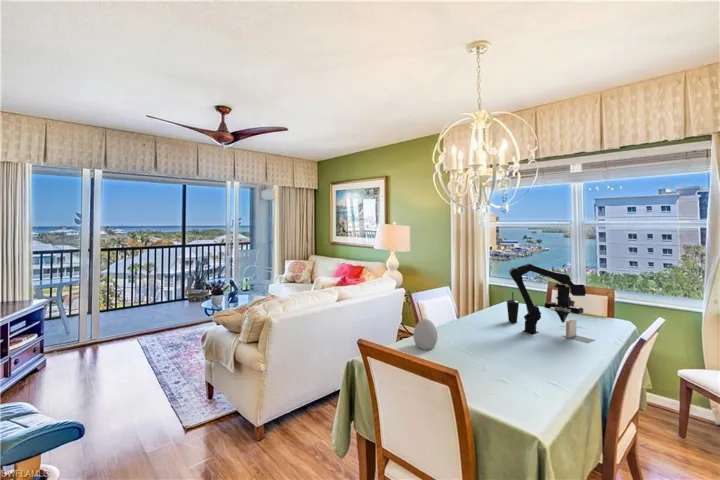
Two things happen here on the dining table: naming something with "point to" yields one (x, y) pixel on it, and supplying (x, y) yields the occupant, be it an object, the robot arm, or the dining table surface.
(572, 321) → the tile
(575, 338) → the mat
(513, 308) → the drinking cup
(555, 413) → the dining table surface
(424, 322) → the decorative egg
